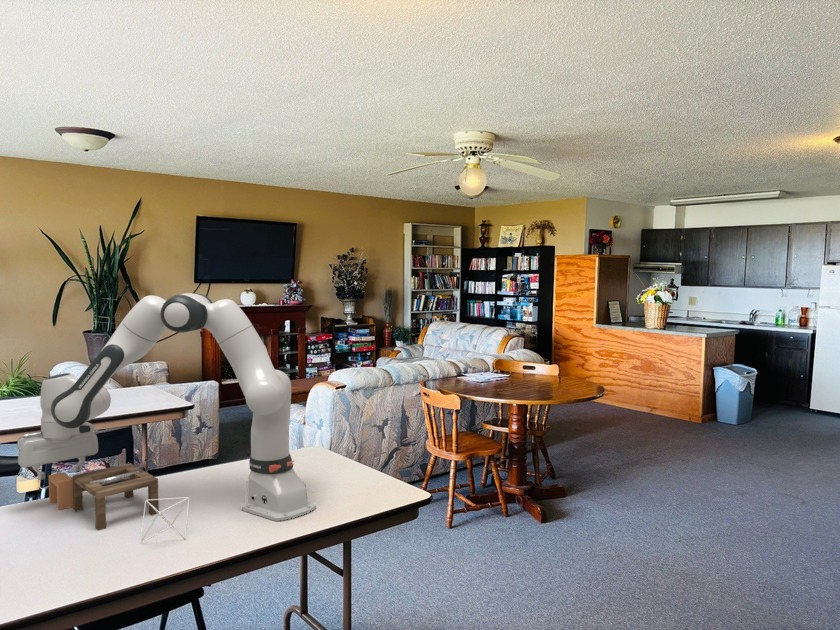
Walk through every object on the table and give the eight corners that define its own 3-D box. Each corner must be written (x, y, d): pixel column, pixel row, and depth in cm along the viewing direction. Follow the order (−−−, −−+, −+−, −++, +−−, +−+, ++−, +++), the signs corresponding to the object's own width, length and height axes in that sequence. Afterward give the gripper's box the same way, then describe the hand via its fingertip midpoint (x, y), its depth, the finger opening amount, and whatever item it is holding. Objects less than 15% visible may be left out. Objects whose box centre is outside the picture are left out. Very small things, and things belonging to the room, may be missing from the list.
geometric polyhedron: (199, 531, 158) (199, 498, 158) (170, 549, 148) (169, 513, 147) (161, 525, 162) (161, 492, 162) (130, 541, 152) (129, 506, 151)
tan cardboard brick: (74, 506, 174) (73, 479, 174) (58, 510, 171) (58, 482, 171) (64, 498, 180) (63, 472, 180) (49, 501, 178) (48, 475, 177)
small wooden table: (158, 513, 170) (158, 478, 169) (98, 530, 158) (97, 493, 158) (131, 495, 183) (130, 463, 183) (73, 509, 172) (72, 475, 171)
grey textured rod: (139, 476, 174) (139, 471, 174) (91, 488, 165) (91, 482, 165) (137, 475, 176) (137, 470, 175) (89, 486, 166) (89, 481, 166)
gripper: (20, 437, 165) (21, 486, 166) (99, 425, 180) (100, 470, 180) (14, 433, 169) (15, 481, 170) (92, 421, 184) (93, 465, 185)
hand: (59, 475), depth 175 cm, fingers open, 8 cm apart
